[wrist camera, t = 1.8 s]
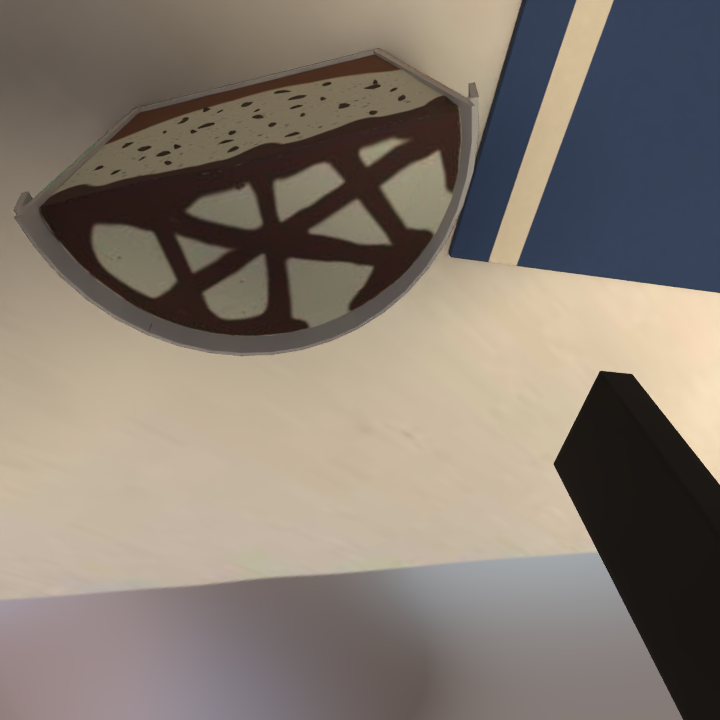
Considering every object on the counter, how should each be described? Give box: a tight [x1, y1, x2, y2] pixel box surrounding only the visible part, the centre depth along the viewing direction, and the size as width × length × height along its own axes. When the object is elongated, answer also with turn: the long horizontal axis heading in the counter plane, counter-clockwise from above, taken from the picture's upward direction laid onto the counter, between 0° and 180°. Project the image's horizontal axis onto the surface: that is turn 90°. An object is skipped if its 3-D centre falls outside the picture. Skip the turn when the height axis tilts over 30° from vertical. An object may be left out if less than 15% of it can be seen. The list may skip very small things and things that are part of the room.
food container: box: [14, 48, 479, 356], centre depth 20 cm, size 12×6×10 cm, turn 102°
